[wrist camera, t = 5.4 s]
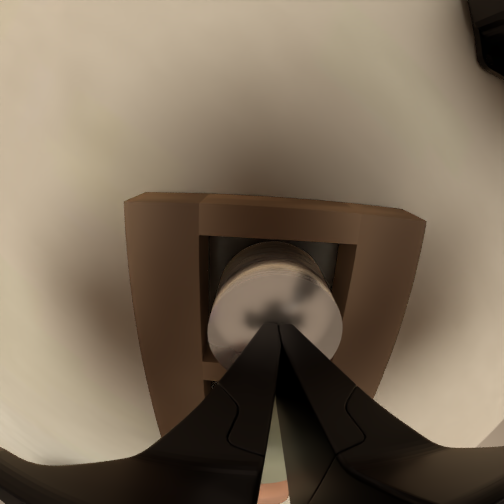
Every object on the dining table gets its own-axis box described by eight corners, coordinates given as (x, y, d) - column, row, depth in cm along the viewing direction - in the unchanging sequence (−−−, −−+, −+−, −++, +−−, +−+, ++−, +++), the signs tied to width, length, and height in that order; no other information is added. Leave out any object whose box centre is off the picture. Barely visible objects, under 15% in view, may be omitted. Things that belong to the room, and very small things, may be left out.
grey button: (330, 244, 11) (354, 278, 8) (315, 336, 12) (328, 385, 9) (220, 238, 11) (206, 271, 8) (219, 331, 12) (209, 381, 9)
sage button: (310, 384, 12) (320, 438, 9) (296, 436, 13) (301, 483, 10) (217, 381, 12) (208, 435, 9) (218, 433, 13) (213, 480, 10)
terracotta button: (290, 442, 15) (293, 484, 12) (281, 471, 16) (283, 507, 13) (221, 440, 15) (216, 482, 12) (222, 469, 16) (218, 505, 13)
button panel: (401, 209, 11) (426, 221, 9) (319, 472, 17) (322, 493, 15) (145, 192, 11) (124, 201, 9) (182, 467, 17) (178, 488, 15)
